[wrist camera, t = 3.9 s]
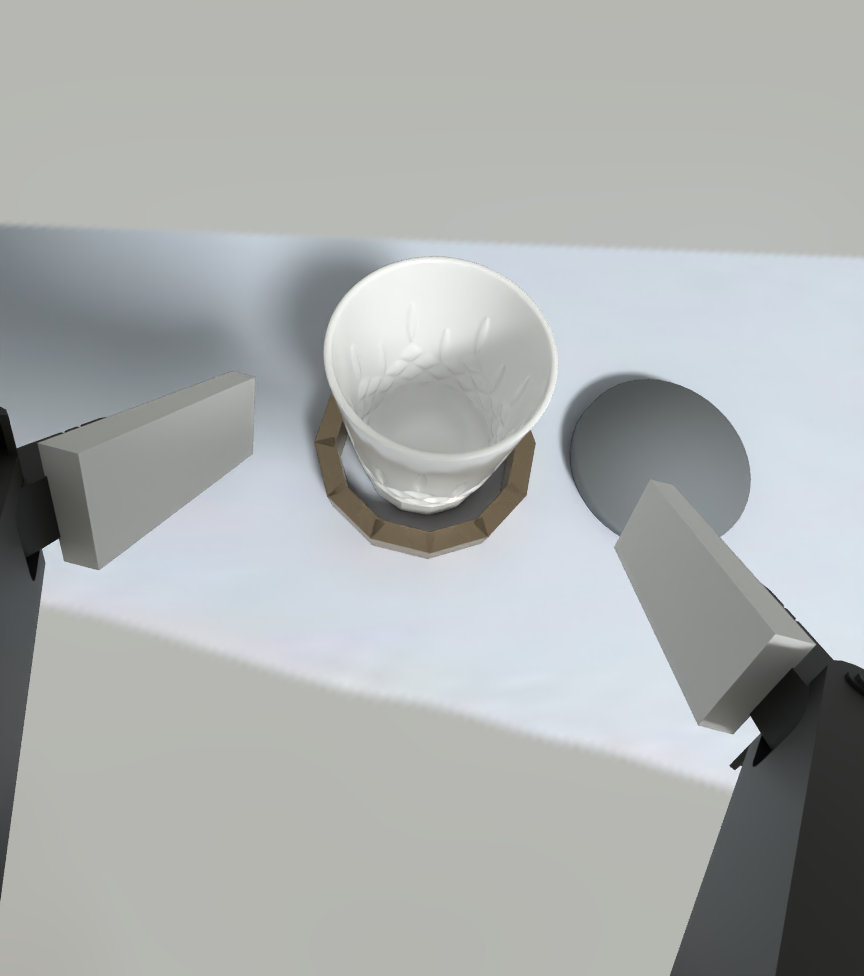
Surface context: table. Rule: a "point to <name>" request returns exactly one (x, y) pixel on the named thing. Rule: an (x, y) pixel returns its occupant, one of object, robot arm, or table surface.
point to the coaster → (658, 453)
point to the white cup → (437, 376)
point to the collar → (403, 536)
